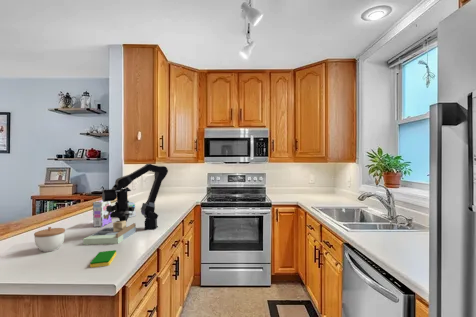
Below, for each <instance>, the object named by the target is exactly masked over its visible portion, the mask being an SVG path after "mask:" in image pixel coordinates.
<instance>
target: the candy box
mask: <svg viewBox="0 0 476 317" xmlns="http://www.w3.org/2000/svg"><path fill="white" fill-rule="evenodd" d="M111 202H112V201H107V202H103V200H102V199H100V200H96V201H92V216H93V218H92V220H93V228H102V227H105V226H107V225H109V224H111V223H112V219H113V218H111V217H110V214H111V213H112V212H111V213H108V211H106V208H107V206H109V205H111V206H112V203H111Z"/></svg>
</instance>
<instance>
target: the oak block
mask: <svg viewBox="0 0 476 317" xmlns="http://www.w3.org/2000/svg"><path fill="white" fill-rule="evenodd" d="M112 225H113V231H114V232H120V231H122V230H123V229H125V228H126V227H127V222H126V221H120V220H117V221H114V222H113V224H112Z"/></svg>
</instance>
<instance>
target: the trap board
mask: <svg viewBox="0 0 476 317" xmlns="http://www.w3.org/2000/svg"><path fill="white" fill-rule="evenodd" d="M136 230H137V229H136V222H135V223H134V222H133V223H132V224H130V225H129V226H126V228H125V229H123V230H122V231H120V232H114V231H113V227H104V228H103V229H100V230H98V231H96V232H94V233H92V234H90V235H88V236H87V237H85V238H83V245H85V246H87V245H88V246H89V245H90V246H91V245H117V244H120V243H122V242H123V241H124V240H126V239H127V238H130V237H131V236H132V235H133V234H134V233H136Z"/></svg>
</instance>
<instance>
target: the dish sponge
mask: <svg viewBox="0 0 476 317" xmlns="http://www.w3.org/2000/svg"><path fill="white" fill-rule="evenodd" d="M116 256H117V250H115V249H114V250H104V251H98V253H97V254H96V255H95V257H94V258H93V259H92V260H91V261H90V264H89V266H90V268H91V267H92V268H100V267H99V266H101V267H106V266H107V267H108V266H110V265H111V263H112V262H113V261H114V259H115V257H116Z"/></svg>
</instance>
